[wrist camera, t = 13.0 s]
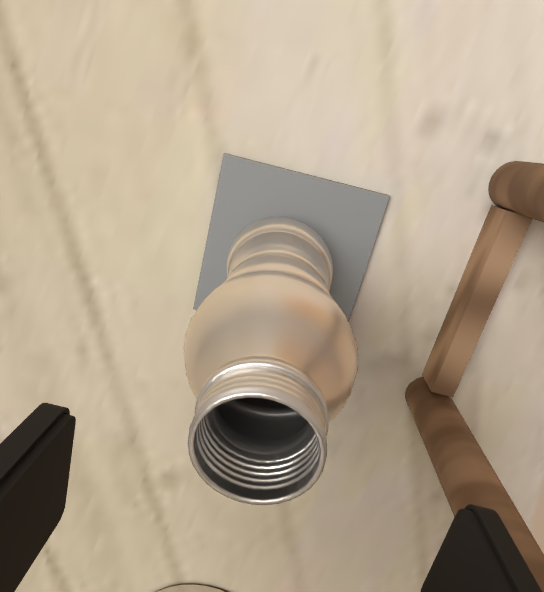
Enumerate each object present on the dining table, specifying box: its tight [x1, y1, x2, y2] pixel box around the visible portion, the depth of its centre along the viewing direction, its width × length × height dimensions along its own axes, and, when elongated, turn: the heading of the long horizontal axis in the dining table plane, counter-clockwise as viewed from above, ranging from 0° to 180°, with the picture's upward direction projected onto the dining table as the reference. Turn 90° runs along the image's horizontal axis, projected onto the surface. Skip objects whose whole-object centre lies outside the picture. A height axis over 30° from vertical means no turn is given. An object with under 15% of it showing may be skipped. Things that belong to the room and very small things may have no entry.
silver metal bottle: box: [184, 217, 358, 505], centre depth 21 cm, size 6×7×20 cm
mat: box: [193, 153, 390, 322], centre depth 31 cm, size 11×11×1 cm
